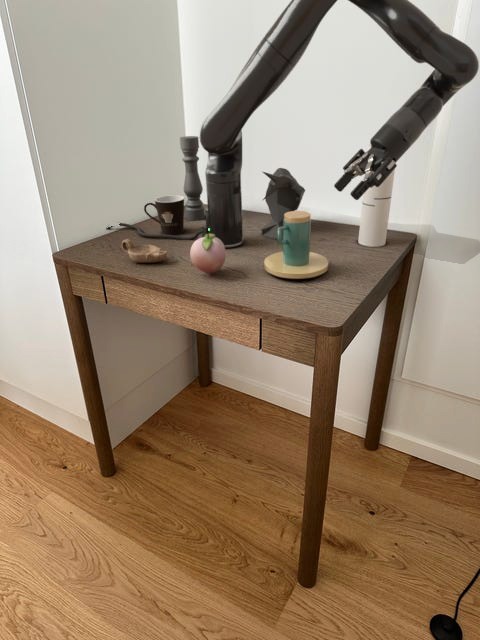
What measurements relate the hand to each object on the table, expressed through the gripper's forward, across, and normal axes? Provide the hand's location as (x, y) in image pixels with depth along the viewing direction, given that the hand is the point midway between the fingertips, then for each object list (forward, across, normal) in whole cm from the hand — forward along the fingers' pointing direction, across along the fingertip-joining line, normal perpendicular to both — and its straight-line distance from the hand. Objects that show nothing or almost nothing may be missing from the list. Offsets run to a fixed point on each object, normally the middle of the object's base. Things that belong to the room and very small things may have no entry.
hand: (344, 193), depth 102 cm
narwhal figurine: (+15, -32, +9) cm, 37 cm away
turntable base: (+20, 0, +4) cm, 21 cm away
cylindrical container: (+2, -13, +23) cm, 26 cm away
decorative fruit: (+34, -4, -10) cm, 36 cm away
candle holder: (+31, -54, -7) cm, 63 cm away
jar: (+19, 0, +4) cm, 20 cm away
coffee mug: (+38, -42, -14) cm, 58 cm away
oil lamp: (+44, -19, -20) cm, 52 cm away
